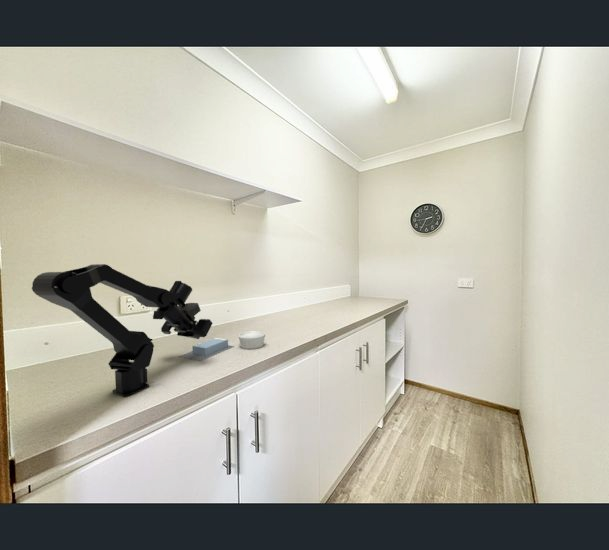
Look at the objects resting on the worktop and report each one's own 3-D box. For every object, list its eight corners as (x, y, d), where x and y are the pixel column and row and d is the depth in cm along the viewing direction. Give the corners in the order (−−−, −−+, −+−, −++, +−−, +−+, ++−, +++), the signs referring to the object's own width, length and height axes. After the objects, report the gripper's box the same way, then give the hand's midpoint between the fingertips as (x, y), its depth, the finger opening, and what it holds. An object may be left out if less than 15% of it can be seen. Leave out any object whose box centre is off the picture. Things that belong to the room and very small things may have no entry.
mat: (200, 362, 87) (200, 361, 87) (177, 357, 93) (177, 356, 93) (234, 347, 104) (234, 346, 104) (213, 343, 109) (213, 343, 109)
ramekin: (241, 342, 110) (241, 331, 110) (266, 342, 111) (266, 330, 110) (235, 351, 99) (235, 338, 99) (263, 350, 99) (263, 337, 99)
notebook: (205, 348, 93) (227, 339, 103) (192, 345, 96) (215, 337, 106) (205, 356, 93) (228, 346, 103) (192, 353, 96) (215, 344, 107)
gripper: (208, 297, 86) (227, 321, 97) (166, 296, 91) (189, 318, 102) (192, 324, 79) (215, 347, 90) (148, 321, 84) (175, 343, 95)
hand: (198, 337), depth 94 cm, fingers closed
